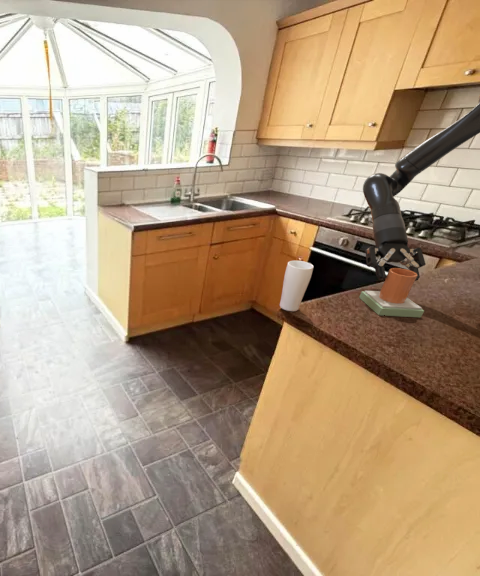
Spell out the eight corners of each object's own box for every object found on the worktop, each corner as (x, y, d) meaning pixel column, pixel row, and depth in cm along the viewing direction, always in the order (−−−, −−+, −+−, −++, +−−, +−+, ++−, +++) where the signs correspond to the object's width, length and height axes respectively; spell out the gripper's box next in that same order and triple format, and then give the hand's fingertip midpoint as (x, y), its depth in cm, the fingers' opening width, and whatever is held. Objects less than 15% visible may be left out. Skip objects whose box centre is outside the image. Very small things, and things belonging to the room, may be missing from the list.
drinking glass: (278, 300, 106) (289, 258, 99) (302, 306, 103) (315, 262, 96) (274, 309, 101) (286, 266, 94) (299, 315, 98) (313, 271, 91)
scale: (397, 299, 104) (401, 291, 103) (421, 317, 95) (426, 309, 93) (358, 297, 106) (362, 289, 105) (378, 315, 96) (382, 306, 95)
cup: (396, 294, 101) (408, 268, 97) (409, 304, 96) (422, 277, 92) (374, 293, 102) (384, 267, 98) (386, 303, 97) (398, 276, 93)
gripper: (371, 225, 99) (380, 274, 94) (424, 226, 97) (436, 276, 92) (356, 236, 106) (363, 282, 101) (405, 237, 104) (415, 285, 99)
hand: (398, 280), depth 97 cm, fingers open, 8 cm apart
